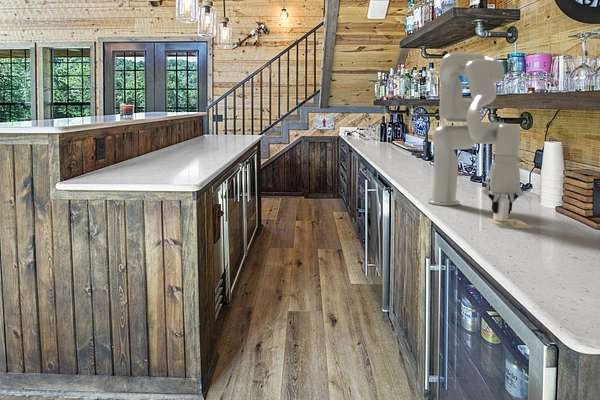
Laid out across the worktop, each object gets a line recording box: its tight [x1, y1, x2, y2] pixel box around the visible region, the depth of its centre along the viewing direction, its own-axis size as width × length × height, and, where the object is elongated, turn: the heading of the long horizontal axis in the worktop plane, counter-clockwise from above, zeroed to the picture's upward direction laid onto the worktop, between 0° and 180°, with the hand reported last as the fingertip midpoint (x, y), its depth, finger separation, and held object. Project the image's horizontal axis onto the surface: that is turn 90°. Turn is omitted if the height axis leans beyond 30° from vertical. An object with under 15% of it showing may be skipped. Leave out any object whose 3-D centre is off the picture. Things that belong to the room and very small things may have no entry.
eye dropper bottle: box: [492, 193, 509, 222], centre depth 207 cm, size 4×6×12 cm
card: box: [486, 218, 534, 230], centre depth 205 cm, size 14×11×1 cm
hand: (501, 212), depth 207 cm, fingers closed on eye dropper bottle, 3 cm apart
